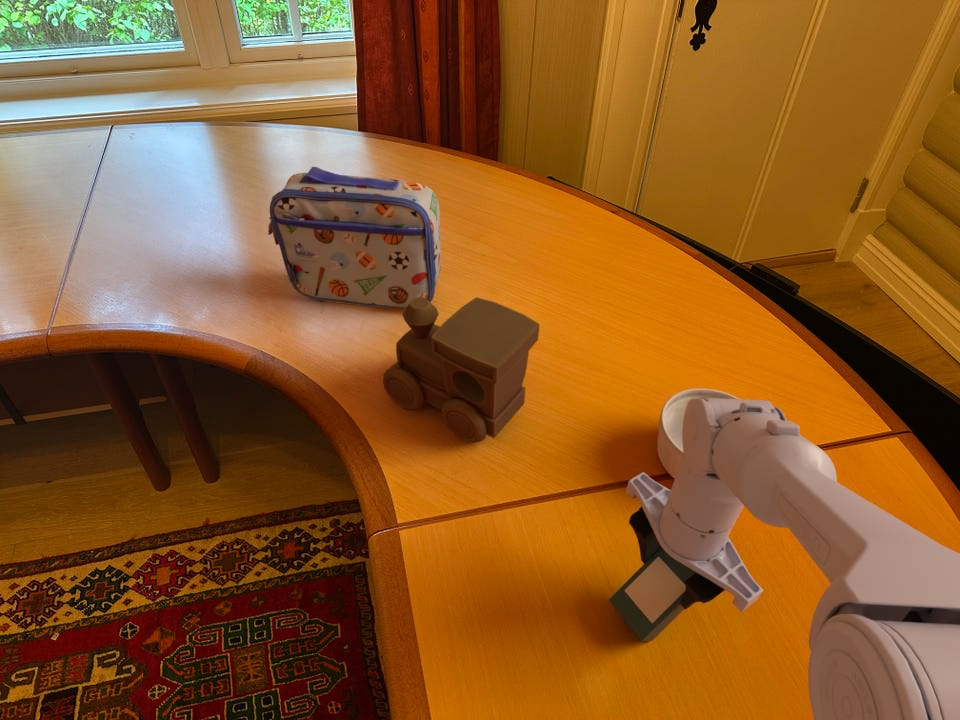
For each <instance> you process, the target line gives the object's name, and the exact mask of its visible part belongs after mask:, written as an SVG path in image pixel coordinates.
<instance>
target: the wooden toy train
mask: <svg viewBox="0 0 960 720" xmlns="http://www.w3.org/2000/svg"><path fill="white" fill-rule="evenodd" d="M438 316H439V311H438V308H437V307H436V306H435V305H434V304H433V303H431V302H429V301H428V300H427V299H425V298H421V297H419V298H414V299H413V300H411V302H410V303H409V305H408V306H407V307H406V309H404V311H403V313H402V317H403V320H404V322H405V323H406V324H407V326H408V327H409V328H410V329H409V330H408V331H406V332H405V333H404V334H403V336H401V338H400V339H398V341H397V342H396V343H395V345H396V346H395V351H396V352H395V353H396V360H397V361H396V362H395V363H394V364H393V365H392V366H390V367H389V368H387V369H386V370H385V372H384V373H383V376H382V383H383V387H384V391H385V392H386V393H387V395H388V397H389V398H390V400H392V401H393V402H394V404H396V405H397V406H399V407H400V408H403V409H404V410H410V411H414V410H418V409H421V408H422V407H423V406H424V403H427V404H429V405H431V406H433V407H434V408H436V409H439V410H441V417H442V422H443V423H444V425H445V427H446V428H447V429H448V431H449V432H450V433H451V434H452V435H454V436H455V438H457V439H459V440H461V441H463V442H465V443H471V444H475V443H480V442H482V441H484V440H485V438H486V436H489V437H491V438H493V439H495V438H496V437H497V436H498V434H500V433H501V431H502V430H503V429H504V428H505V427H506V425H507V424H508V423H510V421H511V420H512V419H513V418H514V416H515V415H516V414H517V413H518V412H519V410H520V409H522V407H523V406H524V405H525V398H526V387H525V386H523V383H524V379H525V377H526V372H527V367H528V360H529V351H530V350H531V349H532V348H533V347H534V345H536V343H537V342H538V341H539V337H540V323H539V322H537V321H535V320H533V319H532V318H531V317H529V316H527V315H525V314H523V313H522V312H518V311H516V310H514V309H512V308H509V307H507V306H505V305H503V304H500V303H497V302H495V301H491V300H488V299H484V298H480V297H477V296H476V297H474V298H473V299H471V300H470V301H469V302H467V303H465V304H463V306H461V307H460V308H459V309H458V310H456V312H454V313H453V314H452V315H451V316H449V318H447V319H446V320H445V321H444V322H443V323H442V324H441V325H437V324H435V323H436V321H437V319H438Z"/></svg>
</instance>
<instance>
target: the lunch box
mask: <svg viewBox="0 0 960 720" xmlns="http://www.w3.org/2000/svg"><path fill="white" fill-rule="evenodd" d="M283 187H284V188H282V190H281V191H278V192H277V193H275V194H274V195H273V196H272V197H271V200H270V204H269V224H268V230H267V234H268V236H270V235H273V239H274V243H275V245H276V246H279V250H280V254H281V256H282V261H283V263H284V267H285V270H286V273H287V277H288V280H289V282H290V283H291V286H292V287H293V288H294V289H295V290H296V292H298V293H299V294H300V295H301V296H303V297H305V298H308V299H310V300H314V301H319V302H326V303H327V302H329V303H337V304H348V305H355V306H360V307H374V308H386V309H387V308H388V309H400V310H401V309H403V310H405V309H406V307H407V306H408V305H409V303H410V302H411V300H413V299H414V298H419V297H421V298H425V299H427V300H428V301H429V302H430V303H431V302H432V301H433V300H434V298H435V291H436V286H437V284H438V280H439V278H440V275H441V270H442V253H441V251H442V250H441V247H442V246H441V224H440V223H441V221H440V220H441V219H440V218H441V217H440V216H441V215H440V213H441V211H440V203H439V199H438V197H437V195H436V193H435V192H434V190H432V189H431V188H430V187H429V186H427V185H425V184H422V183H419V182H414V181H410V180H402V179H393V178H384V177H383V178H382V177H370V176H357V175H346V174H338V173H334V172H331V171H328V170H325V169H322V168H320V167H317V166H312V167H311V168H310V169H309V170H308V172H299V173H298V172H297V173H294V174H292V175H291V176H290V177H289V178H288V179H287V181H286V184H285V186H283Z"/></svg>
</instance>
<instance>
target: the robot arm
mask: <svg viewBox="0 0 960 720" xmlns="http://www.w3.org/2000/svg"><path fill="white" fill-rule="evenodd" d="M800 430H801V427H800V425H799V424H797V423H795V422H793V421H792V420H787V418H786V414H785V413H784V412H783V410H781V409H780V408H779V407H777V406H774V405H773V404H772V403H771V401H769V400H766V399H750V398H749V399H748V398H747V399H746V398H739V399H722V398H701V399H691V400H690V401H689V402H688V404H687V407H686V409H685V413H684V418H683V428H682V442H683V451H684V456H683V459H682V461H681V464H680V467H679V470H678V472H677V475H676V478H675V479H674V480H673V483H672V485H671V489H669V488H668V487H666V486H664V485H662V484H660V483H659V482H657V481H655V480H654V479H653V478H651V477H650V476H649V475H648V474H647V473H645V471H644V472H641V473H639V474H637V475H636V476H634V477H632V478H630V479H629V480H628V482H627V486H626V489H625V493H626V494H627V495H628V496H629V497H630V498H631V499H636V498H637V500H638V502H639V504H640V507H639V509H638V510H637V511H635V512H633V513H632V514H631V515H630V516H629V520H628V524H629V526H630V527H631V528H632V530H633V531H634V534H635V536H636V540H637V542H638V547H639V553H640V561H641V562H642V563H643V565H644V564H645V563H646V562H647V561H648V560H649V559H650V558H651V557H652V556H653V555H654V554H655V553H656V552H657V551H658V550H659V549H660V548H661V547H662V548H663V549H664V550H665V552H666V553H667V554H669V555H670V556H671V557H672V558H674V559H675V560H677V561H679V562H680V563H682V564H684V565H685V566H687V567H688V568H690V569H692V570H693V571H695V572H697V573H695V574H694V575H692V576H691V577H690V578H688V579H687V580H685V582H684V583H685V585H686V590H685V594H684V596H683V597H682V599H681V601H680V603H681V606H682V607H683V608H684V610H687V609H689V608H691V606H693V605H694V604H695V603H701V604H706V603H708V602H711V601H713V600H714V599H716V598H717V597H719V595H721V594H722V593H723V592H725V591H727V592H728V593H730V594H731V595H733V597H734V598H733V600H732V604H733V605H734V607H736V608H737V609H738V610H739V611H740V613H743V612H744V611H745V610H746V609H748V608H749V607H751V606H752V605H753V604H754V603H756V602H757V600H758V599H759V598H760V596H761V595H762V593H763V592H764V589H763V588H762V587H761V586H760V585H759V584H758V582H757V581H756V580H755V579H754V577H753V576H752V575H751V574H750V571H749V570H748V569H747V567H746V565H745V563H744V562H743V560H742V558H741V556H740V554H739V553H738V551H737V549H736V547H735V546H734V544H733V542H732V540H731V539H730V537H729V535H730V534H731V531H732V529H733V528H734V526H735V524H736V523H737V520H738V519H739V517H740V514H741V512H742V510H743V509H744V508H745V509H747V510H748V511H749V513H750V514H751V515H752V516H753V517H754V518H756V519H757V520H759V521H760V522H762V523H763V524H766V525H768V526H771V527H776V528H780V529H781V528H782V529H787V528H788V529H789V531H790V532H791V533H792V534H793V535H794V537H795V539H796V540H797V541H798V543H799V544H800V545H801V547H802V548H803V549H804V551H805V552H806V553H807V554H808V555H809V557H810V558H811V560H812V561H813V562H814V564H815V565H816V566H817V567H818V569H819V570H820V571H821V573H822V574H823V576H824V577H825V578H826V579H827V581H828V583H830V585H828V587H827V588H826V589H825V590H824V591H823V593H822V595H821V597H820V598H819V600H818V602H817V605H816V607H815V609H814V613H813V616H812V620H811V623H810V628H809V634H808V635H809V636H808V647H809V649H810V653H809V659H808V660H809V661H808V669H807V670H808V671H807V681H808V694H809V701H810V706H811V707H810V708H811V711H812V716H813V720H960V552H957V551H955V550H953V549H951V548H949V547H947V546H945V545H943V544H942V543H941V544H940V542H937V541H936V540H934V539H932V538H931V537H929V536H927V534H924V533H923V532H921V531H919V530H918V529H915V528H914V527H912V526H910V525H909V524H907V523H906V522H904V521H903V520H901V519H899V518H897V517H895V516H894V515H892V514H891V513H889V512H888V511H886V510H884V509H883V508H881V507H879V506H878V505H875V504H874V503H872V502H871V501H869V500H868V499H866V498H864V497H862V496H860V494H857V493H856V492H854V491H852V490H851V489H849V488H847V486H844V485H843V484H840V483H839V482H838V477H837V471H836V468H835V465H834V463H833V461H832V459H831V457H830V456H829V454H827V453H826V452H825V451H824V450H823V449H822V448H820V447H819V446H817V445H816V444H815V443H813V442H812V441H810V440H808V439H807V438H806V437H804V436H803V435H801V434H800Z"/></svg>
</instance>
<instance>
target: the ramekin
mask: <svg viewBox="0 0 960 720" xmlns="http://www.w3.org/2000/svg"><path fill="white" fill-rule="evenodd" d="M701 398H722V399H740V398H739V397H737V396H735V395H732V394H731V393H728V392H725V391H721V390H718V389H712V388H701V387H700V388H699V387H698V388H697V387H696V388H689V389H685V390H682V391H679V392H676V393H675V394H673V395H672V396H670V397H669V398H668V399H667V400H666V402H665V403H664V404H663V406H662V409H661V411H660V414H659V419H658V433H657V443H656V444H657V446H656V447H657V449H656V450H657V455H658V457H659V460H660V463H661V465H662V466H663V468H664V470H665V471H666V472H667V473H668V474H669V476H670V477H672V478H673V479H674V480H675V478H676V475H677V472H678V470H679V467H680V464H681V461H682V459H683V456H684V451H683V442H682V428H683V418H684V413H685V409H686V407H687V404H688V402H689V401H690V400H691V399H701Z"/></svg>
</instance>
